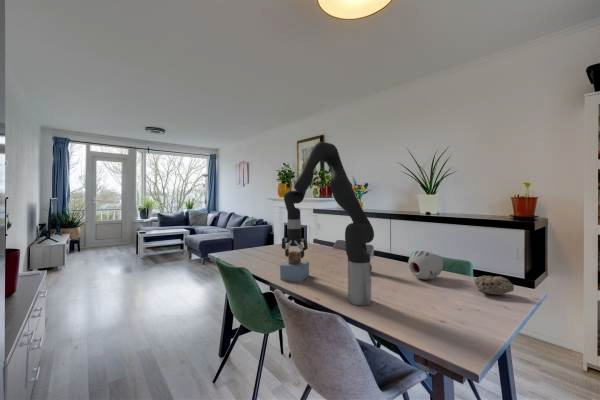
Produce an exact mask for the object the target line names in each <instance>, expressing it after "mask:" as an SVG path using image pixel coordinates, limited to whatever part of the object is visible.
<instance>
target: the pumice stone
mask: <svg viewBox="0 0 600 400" xmlns="http://www.w3.org/2000/svg"><path fill="white" fill-rule="evenodd" d="M473 281H474V285H475V287H476V289H477V290H478V291H479V293H482V294H489V295H496V296H497V295H503V294H504V295H505V294H507V293H511V292H514V291H515V290H514V289H515V286H514V285H515V284H513V283H512V282H511V281H510V280H509V279H507V278H505V277H503V276H497V275H496V276H492V275H481V276H478V277H475V278H473Z"/></svg>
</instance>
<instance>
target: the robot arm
mask: <svg viewBox="0 0 600 400" xmlns="http://www.w3.org/2000/svg"><path fill="white" fill-rule="evenodd" d="M341 160H342V159H341V157H340V154H339V150H338V149H337V146H336V144H333V143H330V142H325V141H317V142H316V143H315V144H314V145H313V147H312V149H311V151H310V154H309V156H308V158H307V160H306V162H305V165H304V167H303V170H302V172H301V173H300V175H299V176H298V178H297V179H296V181H295V182H294V185H293V188H294V189H295V190H287V191H286V192H285V193H284V196H283V201H284V204H285V208H286V213H287V222H286V223H287V224H286V225H287V228H286V229H287V230H286V231H287V235H286V236H287V237H282V238H281V249H282V250H284V254H285V257H286V258H289V256H288V253H289V252H290V251H289V249H290V247H298V249H299V250H300V252H301V259H303V258H304V257H305V251H306V250H308V249H309V247H308V239H307V237H306V238H302V219H301V209H300V208H298V207H296V206H295V204H300V203H302V202H303V200H304V199H305V196H306V193H307V190H308V189H309V188H310V186H311V184H312V183H313V180H314V175H315V174H314V171H315V169H316V167H317V165H318V164H319V163H321V162H322V163H326V164H327V166H328V168H329V171H330V180H329V188H330V191H331V194H332V196H333V199H334V200H335V202H336V203H337V204H338V206H340V207H341V208H342V210H344V211H345V212H346V213H347V215H349V217H350V219H351V221H352V222H351V223H348V224H347V225H346V226H345V231H344V243H345V254H346V256H347V288H348V289H347V294H348V295H347V298H348V299H347V301H348V303H350V304H351V305H356V306H371V303H372V277H371V274H372V273H371V272H370V264H371V254H370V253H368V252H367V253H366V252H364V250H363V244H366V245H367V244H370V243H371V242H372V241H373V240H374V238H375V231H374V228H373V226H372V224H371V221H370V220H369V218H368V217H367V215H366V213H365V211H364V210H363V208H362V206H361V204H360V201H359V200H358V198H357V195H356V193H355V190H354V188H353V186H352V183H351V181H350V179H349V178H348V175H347V173H346V170H345V168H344V166H343V163H342V161H341ZM286 242H288V243H287V244H286ZM302 243H303V244H302Z"/></svg>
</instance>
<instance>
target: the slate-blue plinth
mask: <svg viewBox="0 0 600 400" xmlns="http://www.w3.org/2000/svg"><path fill="white" fill-rule="evenodd" d="M309 263H310V261H309V260H301V263H299V264H298V265H294V264H289V259H288V260H286V261H285V262H283V263H281V264H280V265H279V276H280V281H289V282H297V283H299V282H300V283H302V282H304V280H306V279H307V278H308V277H309V276H310V264H309Z"/></svg>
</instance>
